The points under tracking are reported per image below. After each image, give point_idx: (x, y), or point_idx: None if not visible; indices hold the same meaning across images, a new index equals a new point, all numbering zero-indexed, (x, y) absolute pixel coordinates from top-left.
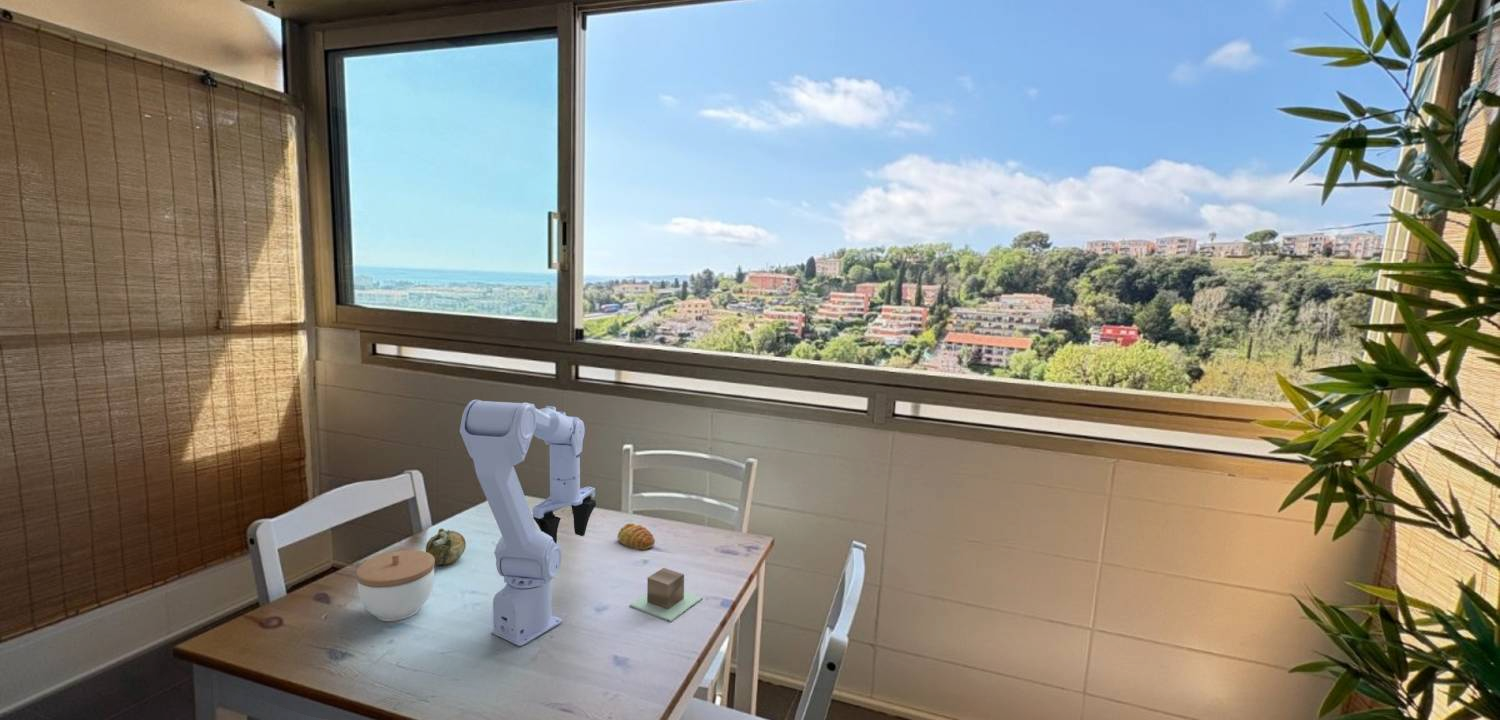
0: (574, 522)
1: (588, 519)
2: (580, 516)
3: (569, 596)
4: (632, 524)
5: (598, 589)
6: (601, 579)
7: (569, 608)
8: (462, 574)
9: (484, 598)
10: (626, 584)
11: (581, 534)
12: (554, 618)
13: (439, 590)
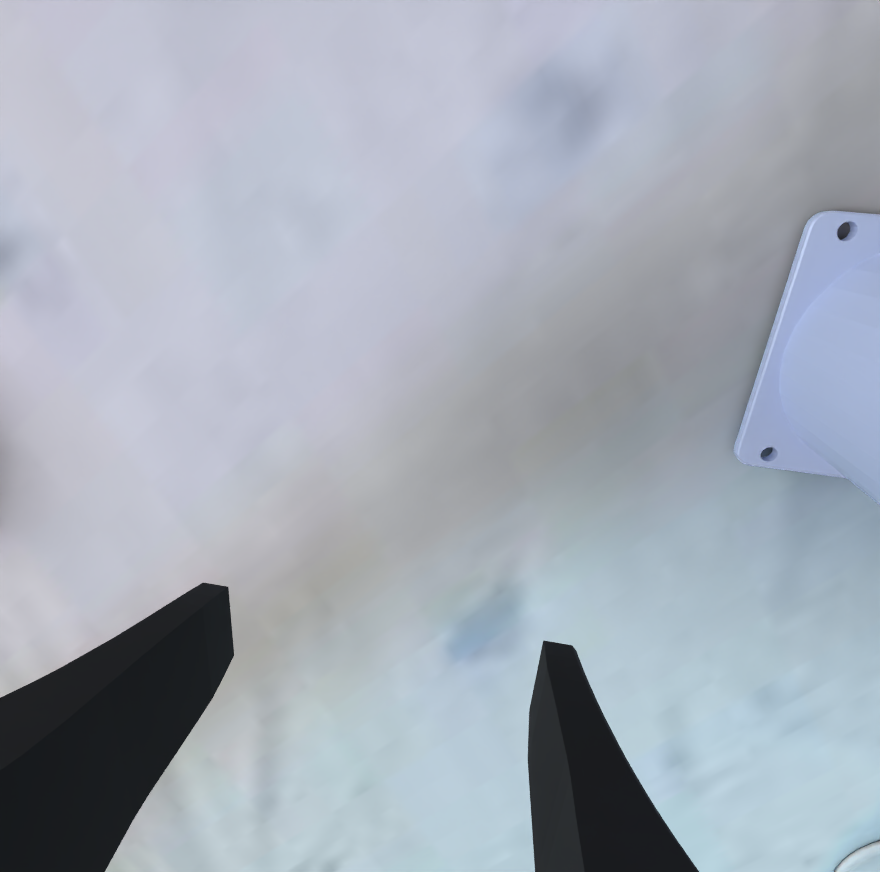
0: (169, 754)
1: (55, 673)
2: (91, 776)
3: (526, 380)
4: None
5: (386, 287)
6: (292, 346)
7: (640, 292)
8: None
9: (710, 698)
10: (251, 171)
11: (220, 604)
12: (822, 268)
13: (717, 856)
